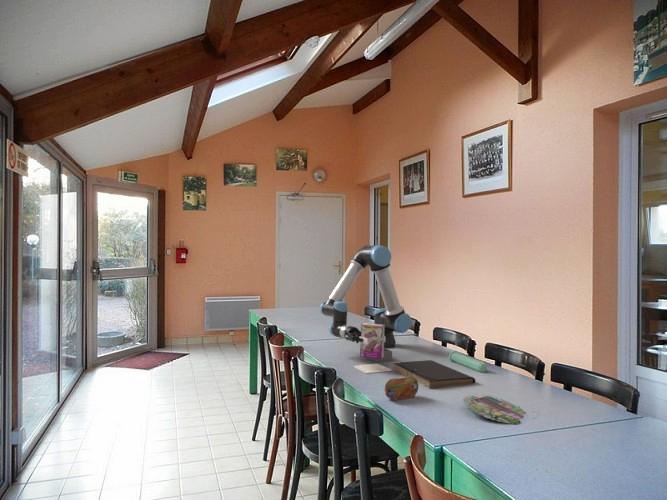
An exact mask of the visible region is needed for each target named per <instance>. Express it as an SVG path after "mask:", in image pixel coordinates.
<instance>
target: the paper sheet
mask: <svg viewBox="0 0 667 500" xmlns="http://www.w3.org/2000/svg"><path fill="white" fill-rule="evenodd" d="M353 368H356V369H357V370H359V371H361V372H363V373H365V374H368V375H369V374H374V373H385V371H386V372H391V371H393V369H392V368H388V367H387V366H385V365H383V364H380V363H379V362H375V363H368V364H359V365H353Z"/></svg>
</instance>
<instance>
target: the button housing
mask: <svg viewBox="0 0 667 500" xmlns="http://www.w3.org/2000/svg"><path fill="white" fill-rule="evenodd" d="M367 359H368V360H370V361H373V362H375V363H380V362H381V363H382V362H391V361H393V351H392V350H390V349H389V348H384V357H383V358H382V359H375V358H367Z"/></svg>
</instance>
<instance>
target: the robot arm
mask: <svg viewBox="0 0 667 500" xmlns="http://www.w3.org/2000/svg"><path fill="white" fill-rule="evenodd" d="M391 253H392V252H391V251H390V249H389V248H388V247H386V246H384V245H380V244H377V245H375V244H374V245H371V244H369V245H364V246H362V247H361V248H360V249H358V250H357V251H356V253H355V254H354V255H353V256H352V258H351V260H350V261H349V263H350V265H348V268H347V269H346V271H345V272H344V273H343V275H342V276H341V278H340V280H339V281H338V282H337V284H336V286H335V287H334V289H333V290H332V292H331V293H330V295H329V297H327V300H326V301H323V302H321V303H320V305H319V307H318V310H319V312H320V314H322V315H324V316H326V317H331V318H332V323H330V325H329V329H328V331H329V333H330V335H331V336H334V337H336V338H340V339H343V340H345V341H350V342H352V343H354V342H355V344H359V343H360V344H361V343H364V344H368V338H365V337H361V330H360V329H359V328H357V327H356V326H352V325H348V322H347V321H348V303H347V302H346V301H343V300H344V298H345V297H346V296H347V294H348V292H349V291H350V289H351V287H352V286H353V285H354V283H355V282H356V280H357V278H358V277H359V275H360V274H361V272H362V271H364V270H365V269H366V267H368V266H369V269H370V272H371V273H374V275H375V279H376V281H377V285H378V289H379V292H380V295H381V298H382V301H383V304H384V308H383V307H382V308H376V309H375V310H374V313H373V316H374V317H373V321H374V323H373V324H379V325H385V330H384V348H386V349H391V348H395V347H396V345H397V342H396V338H395V336H394V335H395V334H394V332H395V333H397V334H404V333H406V332H407V331H409V329H410V327H411V325H412V317H411V316H410V314H408V313H406V311H405V308H404V306H402V305H401V304H400V300H399V298H398V294H397V291H396V288H395V285H394V282H393V278H392V275H391V272H390V267H391V260H392V254H391Z"/></svg>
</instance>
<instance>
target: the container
mask: <svg viewBox="0 0 667 500" xmlns="http://www.w3.org/2000/svg"><path fill="white" fill-rule="evenodd" d="M448 358H449V360H450V361H451V362H454V363H456V364H459V365H461V366H462V367H463V366H464V367H466V368H469V369H471V370H473V371H476V372H478V373H485V372H486V371H487V367H488V366H487V365H486V364H485V363H484V362H482V361H479V360H477V359H475V358H472V357H469V356H468V355H465V354H462V353H460V352H458V351H456V350H451V352H450V353H449V354H448Z"/></svg>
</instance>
